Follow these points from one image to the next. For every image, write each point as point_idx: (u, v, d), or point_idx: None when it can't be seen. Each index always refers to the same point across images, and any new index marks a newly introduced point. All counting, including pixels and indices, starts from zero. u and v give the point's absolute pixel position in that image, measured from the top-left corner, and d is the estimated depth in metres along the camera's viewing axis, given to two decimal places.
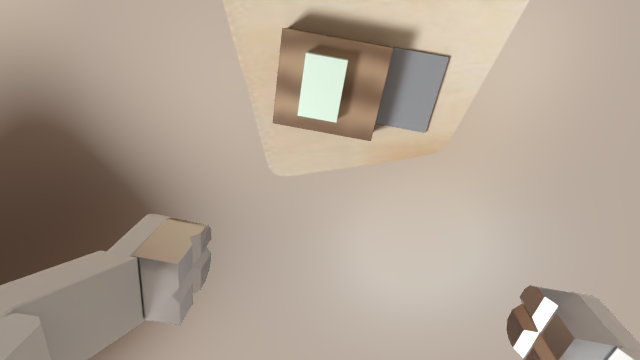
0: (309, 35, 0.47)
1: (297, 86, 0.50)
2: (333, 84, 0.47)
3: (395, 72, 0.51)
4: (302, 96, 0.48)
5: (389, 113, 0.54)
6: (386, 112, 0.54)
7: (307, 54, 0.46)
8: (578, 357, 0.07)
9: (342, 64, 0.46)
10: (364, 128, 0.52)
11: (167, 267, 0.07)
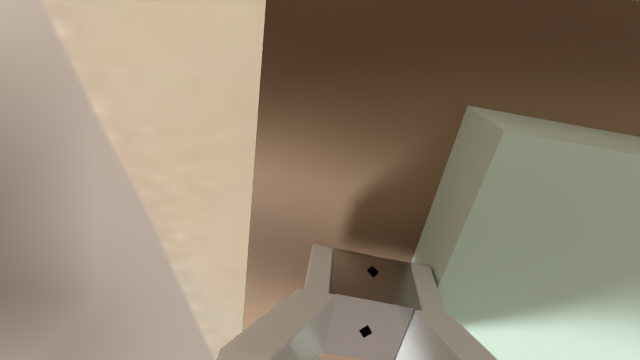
0: None
1: None
2: None
3: None
4: None
5: None
6: None
7: (515, 141, 0.06)
8: (384, 321, 0.07)
9: None
10: None
11: (363, 303, 0.07)
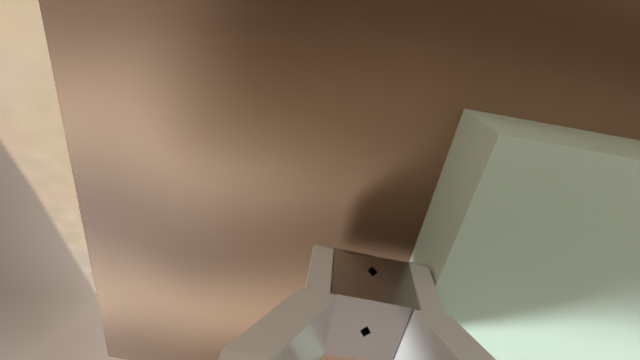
0: None
1: (184, 233, 0.10)
2: None
3: None
4: None
5: None
6: None
7: (510, 145, 0.06)
8: (383, 320, 0.07)
9: None
10: None
11: (364, 303, 0.07)
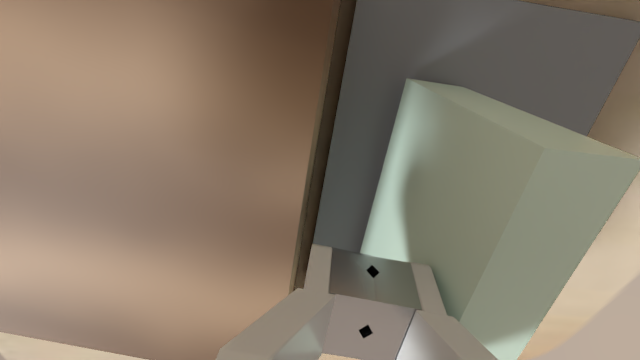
0: None
1: None
2: None
3: (375, 95, 0.11)
4: None
5: (356, 251, 0.14)
6: (345, 248, 0.14)
7: None
8: (385, 321, 0.07)
9: None
10: None
11: (363, 303, 0.07)
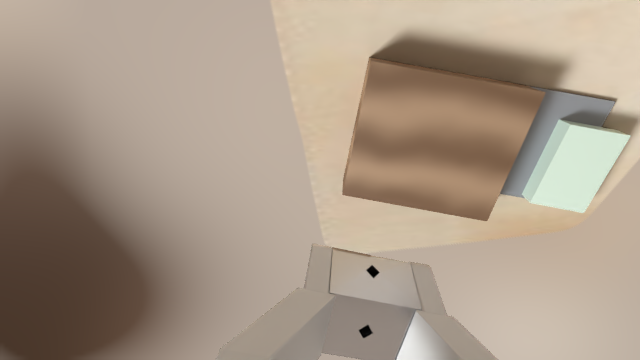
0: (413, 72, 0.30)
1: (385, 145, 0.33)
2: None
3: None
4: None
5: (509, 178, 0.37)
6: None
7: (612, 130, 0.34)
8: (385, 321, 0.07)
9: None
10: (480, 204, 0.35)
11: (363, 303, 0.07)
